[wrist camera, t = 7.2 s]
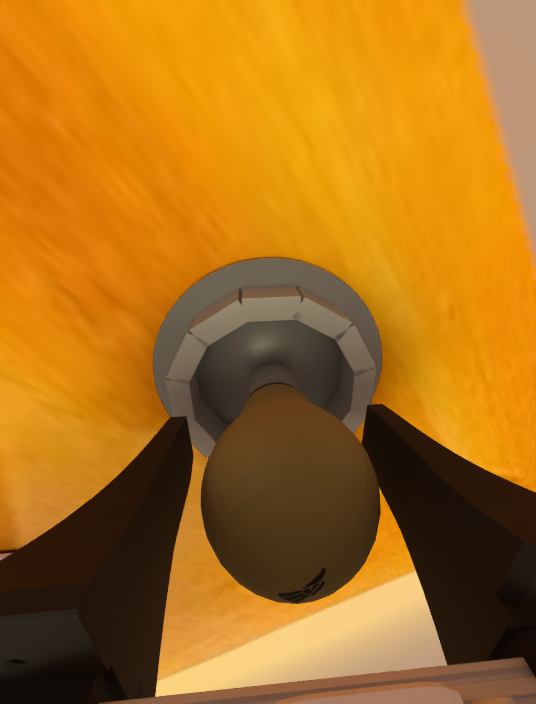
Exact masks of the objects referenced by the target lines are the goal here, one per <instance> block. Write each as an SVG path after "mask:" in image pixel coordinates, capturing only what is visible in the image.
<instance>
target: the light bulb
mask: <svg viewBox="0 0 536 704" xmlns="http://www.w3.org/2000/svg"><path fill="white" fill-rule="evenodd" d="M248 393H249V398H248V400H247V401H246V403H245V405H244V407H243V410H242V413H241V415H240V416H239V417H238V418H237V419H236V420H235V421H233V422H232V423H231V424H230V425H229V427H228V428H227V429H226V430H225V431H224V433H223V434H222V436H221V437H220V438H219V440H218V441H217V443H216V444H215V446H214V448H213V450H212V453H211V455H210V457H209V460H208V462H207V465H206V467H205V471H204V476H203V481H202V487H201V511H202V517H203V523H204V528H205V531H206V535H207V538H208V540H209V542H210V544H211V546H212V548H213V550H214V552H215V554H216V556H217V558H218V560H219V561H220V563H221V564H222V566H223V567H224V568H225V569H226V570H227V571H228V572H229V573H230V574H231V576H232V577H233V578H234V579H235V580H236V581H237V582H238V583H239V584H240V585H242V586H244V587H245V588H247V589H248V590H250V591H251V592H253V593H254V594H256V595H259V596H262V597H265V598H267V599H270V600H273V601H276V602H281V603H293V604H299V603H306V602H313V601H316V600H319V599H321V598H324V597H327V596H329V595H331V594H333V593H334V592H336V591H337V590H338V589H340V588H341V587H343V586H344V585H345V584H347V583H348V582H349V581H350V580H351V579H352V578H353V577H354V576H355V575H356V574H357V572H358V571H359V570H360V569H361V567H362V566H363V565H364V563H365V562H366V560H367V557H368V555H369V553H370V551H371V549H372V546H373V544H374V542H375V540H376V535H377V529H378V524H379V518H380V513H381V511H380V492H379V486H378V480H377V477H376V473H375V470H374V468H373V466H372V463H371V461H370V458H369V456H368V454H367V452H366V450H365V449H364V447H363V445H362V444H361V443H360V441H359V440H358V439H357V437H356V436H355V435H354V434H353V433H352V432H351V431H350V430H349V428H348V427H347V426H346V425H345V424H344V423H343V422H342V421H340V420H339V419H337V418H336V417H335V416H333V415H332V414H330V413H329V412H327V411H326V410H324V409H322V408H320V407H318V406H315V405H313V404H311V403H310V401H309V400H308V399H307V398H306V396H305V395H304V394H303V393H302V392H300V391H299V390H298V388H297V385H296V381H295V379H294V376H293V374H292V373H291V372H290V371H289V370H288V369H286V368H285V367H282V366H279V365H267V366H263V367H261V368H259V369H258V370H256V371H255V372H254V373H253V374H252V376H251V377H250V380H249V383H248Z"/></svg>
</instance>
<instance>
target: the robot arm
mask: <svg viewBox="0 0 536 704" xmlns="http://www.w3.org/2000/svg"><path fill="white" fill-rule="evenodd" d="M362 445H363V447H364V449H365V450H366V452H367V454H368V456H369V458H370V461H371V463H372V466H373V468H374V470H375V473H376V477H377V480H378V486H379V488H380V489H381V491H382V493H383V495H384V497H385V499H386V501H387V503H388V505H389V507H390V509H391V511H392V513H393V515H394V517H395V519H396V521H397V524H398V526H399V528H400V530H401V533H402V535H403V538H404V540H405V543H406V545H407V548H408V551H409V553H410V556H411V558H412V561H413V564H414V566H415V569H416V572H417V575H418V577H419V580H420V583H421V586H422V588H423V591H424V594H425V597H426V600H427V603H428V606H429V609H430V612H431V615H432V618H433V621H434V624H435V627H436V630H437V633H438V637H439V640H440V643H441V646H442V649H443V652H444V656H445V659H446V662H447V666H437V667H428V668H419V669H410V670H400V671H391V672H382V673H372V674H364V675H355V676H345V677H336V678H327V679H318V680H308V681H298V682H289V683H280V684H271V685H262V686H252V687H244V688H234V689H225V690H216V691H206V692H197V693H188V694H179V695H169V696H160V697H155V693H156V684H157V674H158V665H159V656H160V647H161V639H162V631H163V623H164V615H165V607H166V600H167V593H168V585H169V578H170V572H171V565H172V558H173V552H174V547H175V542H176V537H177V533H178V529H179V525H180V521H181V517H182V513H183V509H184V505H185V501H186V497H187V493H188V489H189V484H190V480H191V472H192V464H193V451H192V445H191V439H190V433H189V427H188V421H187V416H180V417H171V418H170V419H169V420H168V421H167V422H166V423H165V424H164V426H163V427H162V428H161V429H160V430H159V432H158V433H157V434H156V435H155V436H154V437H153V439H152V440H151V441H150V442H149V443H148V444H147V445H146V447H145V448H144V449H143V450H142V451H141V452H140V453H139V454H138V456H137V457H136V458H135V459H134V460H133V461H132V462H131V463H130V464H129V465H128V466H127V467H126V468H125V469H124V470H123V471H122V472H121V473H120V474H119V475H118V476H117V477H116V478H115V479H114V480H113V481H112V482H110V483H109V484H108V485H107V486H106V487H105V488H104V489H102V490H101V491H100V492H99V493H98V494H97V495H95V496H94V497H93V498H92V499H90V500H89V501H88V502H86V503H85V504H84V505H82V506H81V507H80V508H79V509H77V510H76V511H75V512H73V513H72V514H71V515H69V516H68V517H67V518H65V519H64V520H63V521H61V522H60V523H58V524H57V525H55V526H54V527H53V528H51V529H50V530H48V531H47V532H45V533H44V534H42V535H41V536H39V537H38V538H36V539H34V540H33V541H31V542H30V543H28V544H27V545H25V546H23V547H22V548H20V549H18V550H17V551H15V552H13V553H4V554H0V704H536V492H533V491H531V490H528V489H526V488H524V487H521V486H519V485H517V484H514V483H512V482H510V481H508V480H506V479H504V478H501V477H499V476H497V475H495V474H493V473H491V472H489V471H487V470H485V469H483V468H481V467H479V466H477V465H475V464H473V463H472V462H470V461H468V460H466V459H464V458H462V457H461V456H459V455H457V454H455V453H454V452H452V451H450V450H449V449H447V448H446V447H444V446H442V445H441V444H439V443H438V442H436V441H434V440H433V439H431V438H430V437H428V436H427V435H425V434H424V433H422V432H421V431H420V430H418V429H417V428H415V427H414V426H412V425H411V424H410V423H408V422H407V421H405V420H404V419H403V418H401V417H400V416H399V415H397V414H396V413H394V412H393V411H392V410H390V409H389V408H387V407H386V406H384V405H383V404H375V405H367V410H366V417H365V424H364V431H363V439H362Z"/></svg>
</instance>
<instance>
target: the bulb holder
mask: <svg viewBox="0 0 536 704" xmlns="http://www.w3.org/2000/svg"><path fill="white" fill-rule="evenodd" d="M381 364H382V348H381V340H380V336H379V331H378V328H377V326H376V323H375V321H374V318H373V316H372V314H371V313H370V311H369V309H368V308H367V306H366V304H365V303H364V302H363V301H362V299H361V298H360V297H359V296H358V294H357V293H356V292H354V291H353V290H352V289H351V288H350V287H349V286H348V285H347V284H346V283H345V282H343V281H342V280H340V279H339V278H337V277H336V276H334V275H333V274H331V273H330V272H328V271H326V270H324V269H322V268H320V267H318V266H316V265H312V264H309V263H306V262H303V261H300V260H294V259H288V258H276V257H264V258H254V259H247V260H243V261H239V262H235V263H232V264H229V265H227V266H224V267H222V268H219V269H217V270H215V271H213V272H211V273H210V274H208V275H206V276H204V277H203V278H201V279H200V280H199V281H197V282H196V283H195V284H193V285H192V286H191V287H190V288H189V289H188V290H187V291H186V292H185V293H184V294H183V295H182V296H181V297H180V298H179V299H178V300H177V302H176V303H175V304H174V306H173V307H172V309H171V310H170V311H169V313H168V314H167V316H166V318H165V320H164V322H163V324H162V326H161V328H160V331H159V334H158V337H157V340H156V344H155V349H154V355H153V372H154V379H155V384H156V388H157V391H158V395H159V397H160V399H161V401H162V404H163V406H164V408H165V409H166V411H167V412H168V414H169V415H170V417H180V416H187V421H188V427H189V433H190V439H191V443H192V444H193V445H194V446H195V447H196V448H197V449H198V450H199V451H200V452H201V453H202V454H203V456H204V457H207V456H208V459H209V457H210V455H211V453H212V450H213V448H214V446H215V444H216V443H217V441H218V440H219V438H220V437H221V436H222V434H223V433H224V431H225V430H226V429H227V428H228V427H229V425H230V424H231V423H232V422H233V421H235V420H236V419H237V418H238V417H239V416H240V415H241V413H242V410H243V407H244V405H245V403H246V401H247V400H248V398H249V393H248V383H249V380H250V377H251V376H252V374H253V373H254V372H255V371H256V370H258V369H259V368H261V367H263V366H267V365H279V366H282V367H285V368H286V369H288V370H289V371H290V372H291V373H292V374H293V376H294V379H295V381H296V385H297V388H298V390H299V391H300V392H302V393H303V394H304V395H305V396H306V398H307V399H308V400H309V401H310V403H311V404H313V405H315V406H318V407H320V408H322V409H324V410H326V411H327V412H329V413H330V414H332V415H333V416H335V417H336V418H337V419H339V420H340V421H342V422H343V423H344V424H345V425H346V426H347V427H348V428H349V430H350V431H351V432H352V433H353V434H354V432H355V431H356V430H357V429H358V427H359V426H360V425H361V424H362V422H363V421H364V420H365V417H366V410H367V405H371V403H372V397H373V395H374V392H375V390H376V387H377V384H378V381H379V377H380V372H381Z"/></svg>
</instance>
